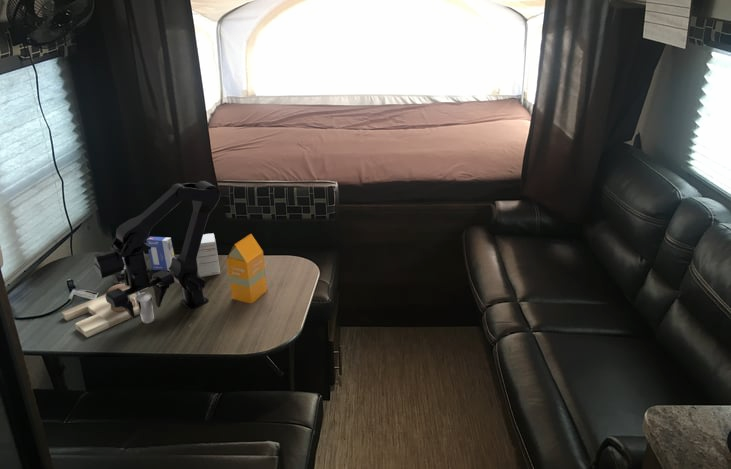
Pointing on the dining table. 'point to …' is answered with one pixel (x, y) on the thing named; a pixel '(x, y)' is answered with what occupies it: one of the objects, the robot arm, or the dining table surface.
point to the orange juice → (247, 270)
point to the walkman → (160, 252)
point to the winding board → (97, 315)
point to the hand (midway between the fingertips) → (146, 312)
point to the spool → (122, 287)
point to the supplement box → (208, 256)
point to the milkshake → (145, 306)
